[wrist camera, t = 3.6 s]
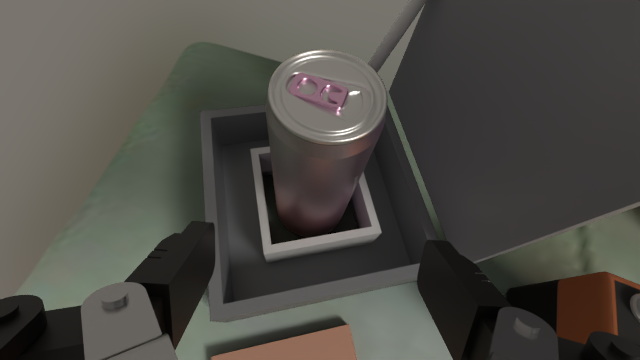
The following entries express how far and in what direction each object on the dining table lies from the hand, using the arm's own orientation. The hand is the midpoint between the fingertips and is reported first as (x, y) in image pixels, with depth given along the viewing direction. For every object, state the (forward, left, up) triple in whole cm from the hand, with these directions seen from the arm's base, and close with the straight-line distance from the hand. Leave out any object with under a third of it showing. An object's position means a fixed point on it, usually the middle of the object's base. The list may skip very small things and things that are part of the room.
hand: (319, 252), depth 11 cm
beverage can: (-2, -7, -14) cm, 16 cm away
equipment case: (-2, -7, -14) cm, 16 cm away
